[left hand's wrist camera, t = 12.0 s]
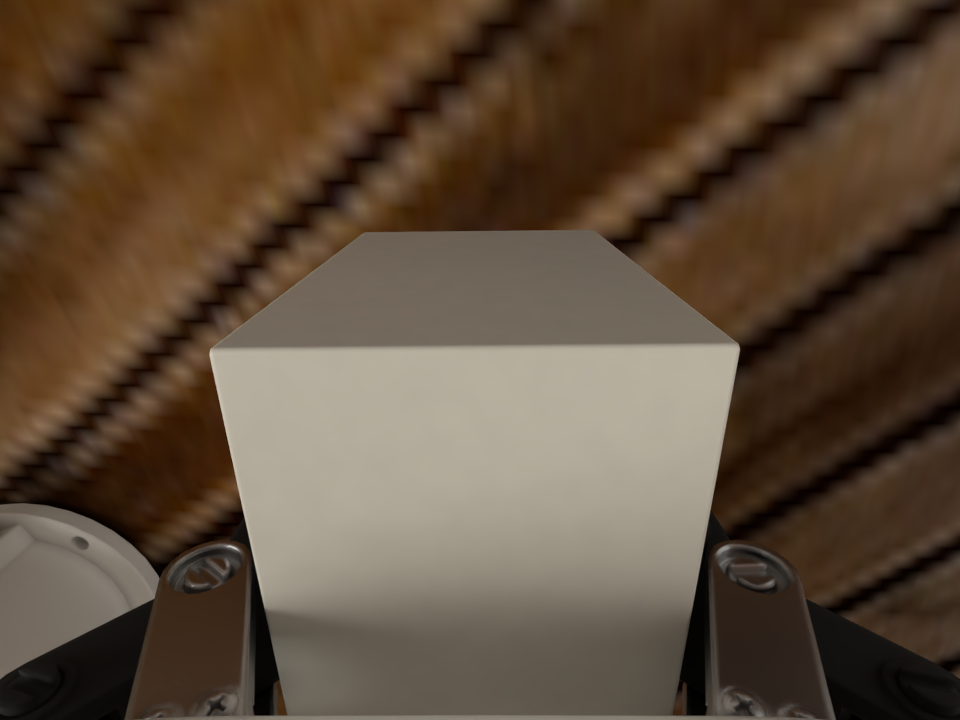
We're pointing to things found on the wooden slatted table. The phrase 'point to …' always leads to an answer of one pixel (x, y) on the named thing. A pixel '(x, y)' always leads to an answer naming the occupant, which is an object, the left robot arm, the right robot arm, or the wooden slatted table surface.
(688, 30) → the wooden slatted table surface
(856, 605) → the wooden slatted table surface
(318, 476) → the post
